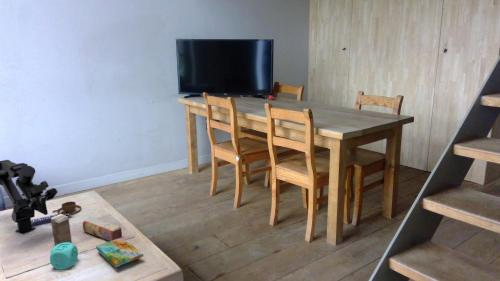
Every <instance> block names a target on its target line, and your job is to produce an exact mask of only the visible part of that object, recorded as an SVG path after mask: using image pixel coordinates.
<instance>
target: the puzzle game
mask: <svg viewBox="0 0 500 281" xmlns="http://www.w3.org/2000/svg"><path fill="white" fill-rule="evenodd" d="M95 249H96V250H97V251H98V253H100V254H101V255H102V256H103V257H104V258H105V259H106V260H107V261H108V262H109V263H110V264H111V265H112V266H113V267H115V268H117V267H120V266H122V265H125V264H127V263H130V262H132V261H135V260H138V259H141V258H143V257H144V253H143V252H141V251H140V250H139V249H138V248H136V247H135V246H134V245H133V244H131V243H130V242H129V241H128V240H126V238H125V237H123V236H122V237H121V238H118V239H115V240H112V241H109V240H108V242H104V243H101V244H98V245H96V246H95Z"/></svg>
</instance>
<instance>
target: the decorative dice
mask: <svg viewBox="0 0 500 281" xmlns="http://www.w3.org/2000/svg"><path fill="white" fill-rule="evenodd" d="M50 251H51V252H50V254H49V262H50V265H51V266H52V267H53V268H54V269H56V270H61V271H62V270H67V269H71V268H72V267H74V266H75V265H76V263H77V262H78V257H79V249H78V247H77V245H75V244H74V243H73V242H72V243H69V242H65V243H60V244H58V245H56V246H55V245H54V246H53V248H52V249H51V250H50Z"/></svg>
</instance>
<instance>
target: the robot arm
mask: <svg viewBox="0 0 500 281" xmlns="http://www.w3.org/2000/svg"><path fill="white" fill-rule="evenodd" d="M35 173H36V169H35V167H33V166H32V165H28V163H25V162H20V163H17V162H16V163H15V162H13V161H11V160H10V159H4V160H0V186H2V187H3V189H4V191H5V193H6V194H7V196H8V198H9V200H10V201H11V203H12V205H13V208H12V214H11V217H10V218H11V220H12V221H13V222H14V223H16V225H17V229H16V230H14V232H15V233H18V234H21V235H24V234H25V235H26V234H27V233H29V232H32V231H34V230H36V227H34V226H33V223H32V218H35V214H36V212H38V213H40V214H42V215H45V216H47V215H48V214H49V211H48V208H47V201H50V200H53V199H54V198H55V197H56V195H57V194H58V193H59V192H58V189H57V188H55V187H52V188H50V189H47V188H49V183H48V182H47V181H46V180H44V181H43V180H42V181H41V182H40V184H38V183H35V184H34V182H33V180H34V177H35ZM14 178H15V183H14V182H13V179H14ZM17 187H18V188H17ZM18 189H19V190H18ZM20 191H21V193H20ZM44 191H45V193H44ZM43 193H44V194H43ZM35 211H36V212H35Z"/></svg>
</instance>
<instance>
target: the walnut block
mask: <svg viewBox="0 0 500 281" xmlns="http://www.w3.org/2000/svg"><path fill="white" fill-rule="evenodd" d="M50 224H51V228H52V236H53V243H54V246H56V245H58V244H60V243H65V242H69V243H72V244H73V242H72V241H73V240H72V234H71V232H72V231H71V227H70V226H71V225H70V219H69V215H68V216H66V215H63V214H57V215H55V216H53V217H51V218H50Z"/></svg>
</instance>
